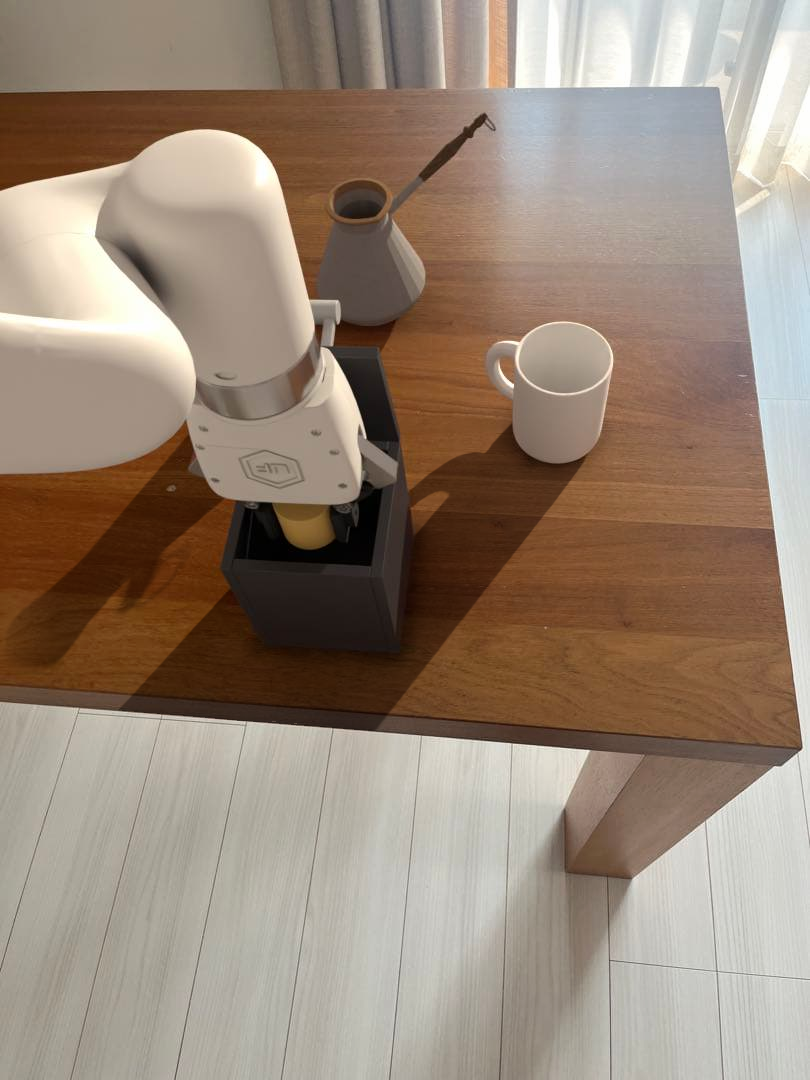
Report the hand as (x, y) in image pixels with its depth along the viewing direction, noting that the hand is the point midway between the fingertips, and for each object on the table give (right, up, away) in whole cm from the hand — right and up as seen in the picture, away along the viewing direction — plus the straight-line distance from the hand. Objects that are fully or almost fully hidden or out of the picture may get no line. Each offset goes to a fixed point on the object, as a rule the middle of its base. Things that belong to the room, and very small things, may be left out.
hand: (311, 522), depth 65 cm
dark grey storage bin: (+1, -5, +12) cm, 14 cm away
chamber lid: (0, +8, -3) cm, 9 cm away
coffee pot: (+8, +27, +31) cm, 41 cm away
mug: (+20, +10, +20) cm, 29 cm away
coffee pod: (0, 0, 0) cm, 0 cm away
